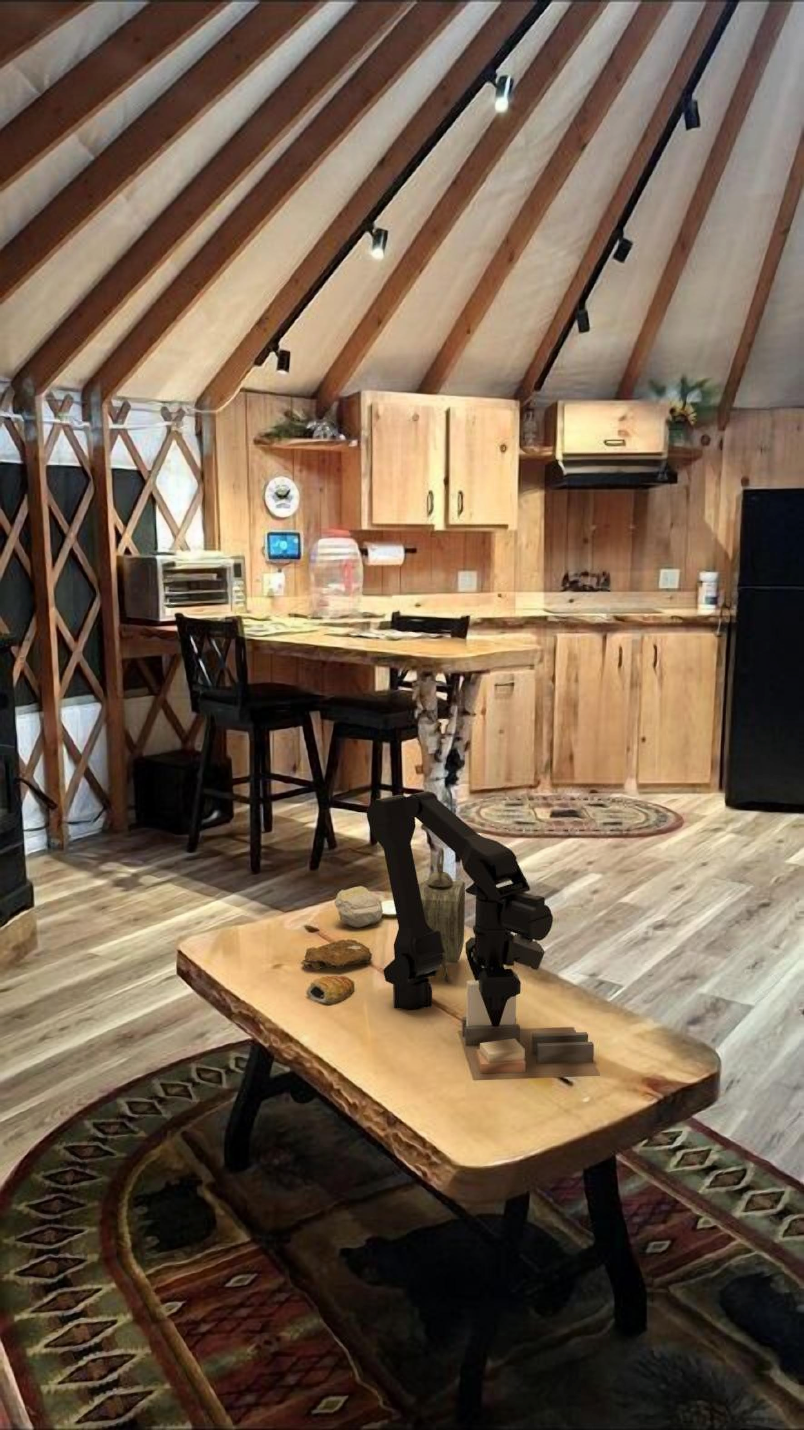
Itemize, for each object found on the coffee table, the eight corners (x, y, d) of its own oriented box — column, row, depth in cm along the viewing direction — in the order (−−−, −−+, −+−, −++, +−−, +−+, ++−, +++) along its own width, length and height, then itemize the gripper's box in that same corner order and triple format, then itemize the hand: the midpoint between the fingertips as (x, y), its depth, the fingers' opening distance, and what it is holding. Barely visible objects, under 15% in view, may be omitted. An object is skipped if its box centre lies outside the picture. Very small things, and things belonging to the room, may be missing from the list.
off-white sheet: (467, 1042, 169) (468, 984, 168) (466, 1037, 171) (467, 980, 170) (515, 1040, 170) (516, 983, 169) (513, 1036, 172) (514, 979, 170)
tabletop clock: (455, 988, 195) (457, 861, 192) (409, 984, 197) (409, 858, 193) (464, 959, 209) (465, 841, 206) (420, 956, 211) (421, 839, 207)
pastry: (337, 983, 198) (338, 964, 197) (363, 993, 193) (363, 973, 193) (303, 998, 190) (303, 979, 190) (329, 1008, 186) (329, 989, 186)
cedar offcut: (480, 1073, 159) (481, 1064, 159) (475, 1058, 164) (476, 1049, 164) (525, 1071, 159) (525, 1062, 159) (518, 1056, 164) (519, 1047, 164)
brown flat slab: (324, 984, 198) (381, 967, 208) (325, 964, 197) (383, 948, 207) (289, 964, 206) (346, 949, 216) (290, 945, 205) (347, 930, 216)
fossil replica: (392, 919, 234) (352, 917, 237) (390, 883, 233) (350, 882, 237) (371, 932, 222) (329, 930, 226) (369, 894, 222) (328, 893, 226)
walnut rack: (473, 1089, 157) (473, 1061, 156) (457, 1039, 174) (458, 1014, 173) (600, 1084, 159) (601, 1057, 158) (573, 1035, 175) (573, 1010, 175)
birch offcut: (489, 1063, 159) (489, 1054, 159) (479, 1052, 163) (479, 1043, 162) (524, 1058, 161) (524, 1049, 160) (514, 1047, 164) (514, 1038, 164)
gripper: (553, 943, 159) (551, 1038, 161) (529, 904, 178) (526, 989, 180) (483, 945, 158) (481, 1040, 161) (465, 905, 177) (464, 991, 179)
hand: (490, 1014), depth 170 cm, fingers open, 9 cm apart
